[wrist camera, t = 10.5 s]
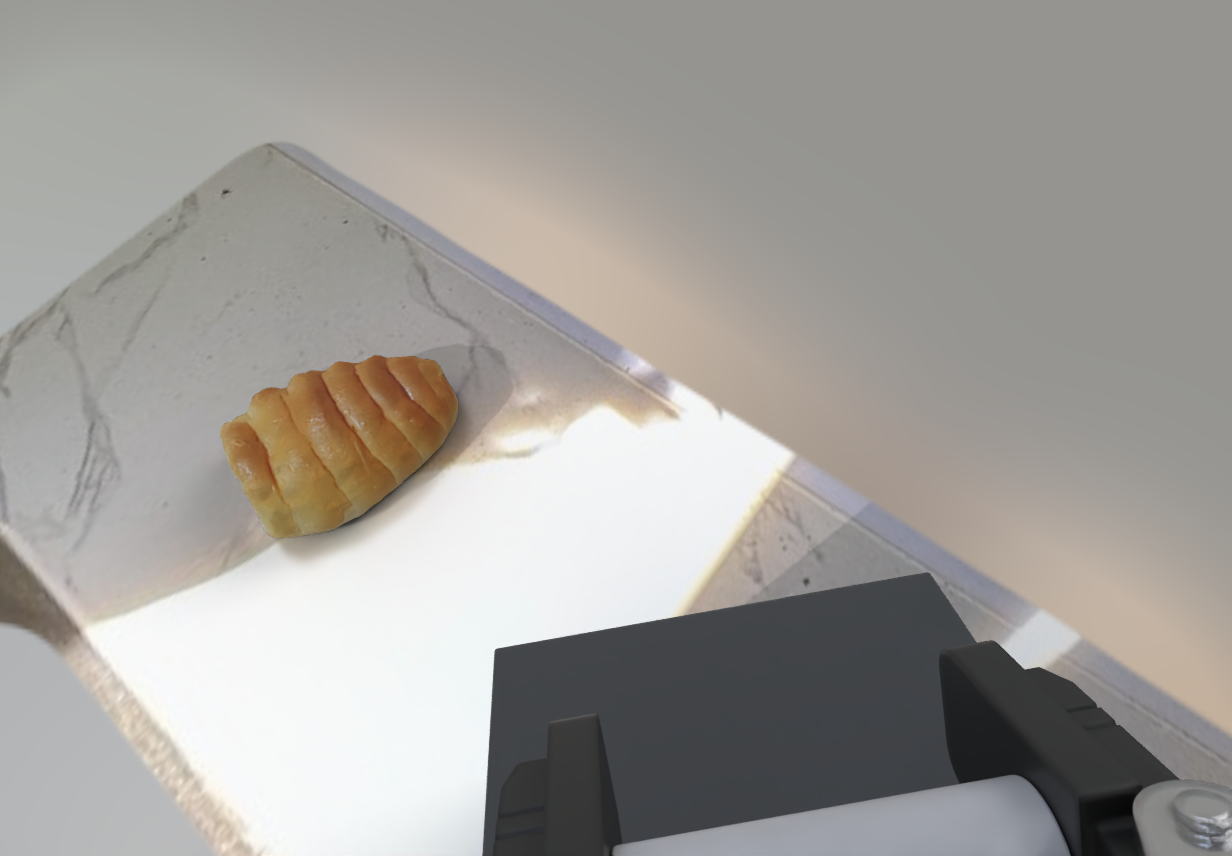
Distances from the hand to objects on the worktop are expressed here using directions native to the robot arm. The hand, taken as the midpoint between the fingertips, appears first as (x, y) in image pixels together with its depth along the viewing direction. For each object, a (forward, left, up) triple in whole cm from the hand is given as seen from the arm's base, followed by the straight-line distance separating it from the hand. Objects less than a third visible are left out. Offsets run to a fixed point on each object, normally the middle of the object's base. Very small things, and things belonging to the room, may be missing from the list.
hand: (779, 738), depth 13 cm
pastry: (+18, -13, -19) cm, 29 cm away
